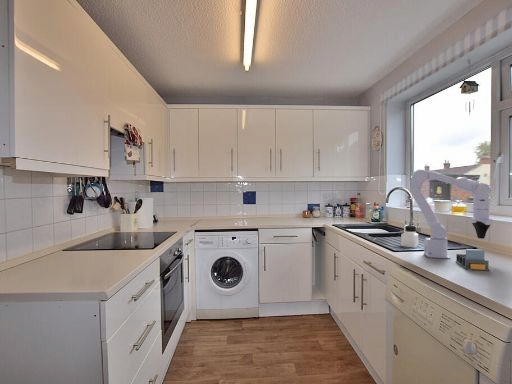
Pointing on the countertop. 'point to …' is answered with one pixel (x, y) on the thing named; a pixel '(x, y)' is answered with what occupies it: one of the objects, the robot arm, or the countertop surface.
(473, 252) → the panel
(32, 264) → the countertop surface
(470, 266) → the rack
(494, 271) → the countertop surface
